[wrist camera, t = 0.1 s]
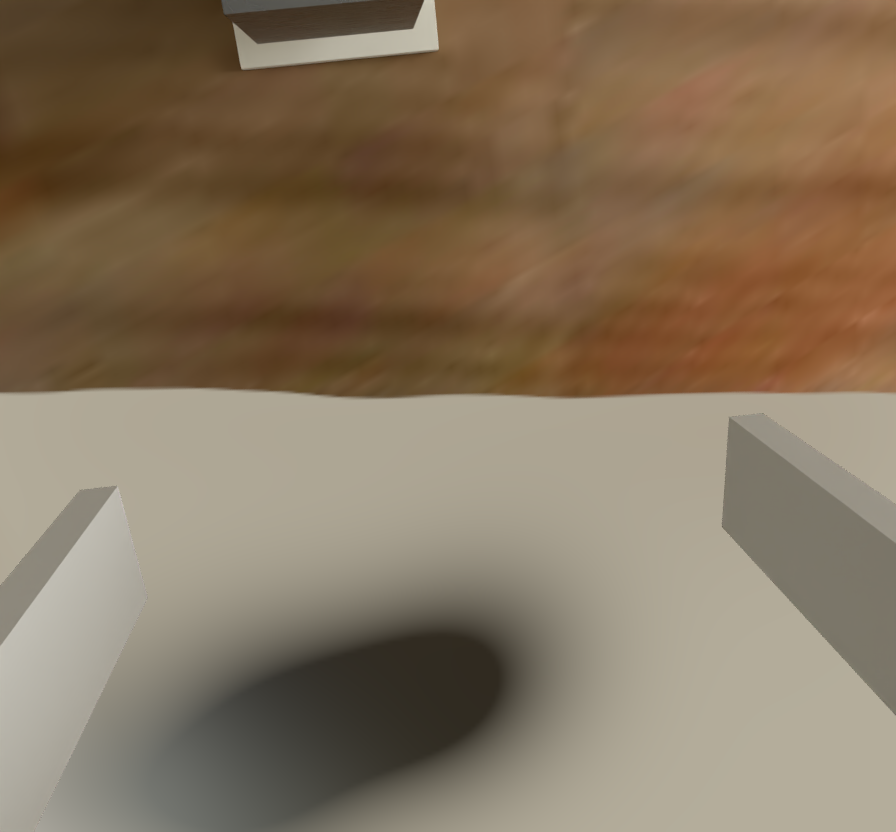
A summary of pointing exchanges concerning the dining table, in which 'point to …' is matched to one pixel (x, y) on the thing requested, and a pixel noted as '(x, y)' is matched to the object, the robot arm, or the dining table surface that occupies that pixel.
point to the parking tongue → (341, 45)
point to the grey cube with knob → (319, 17)
